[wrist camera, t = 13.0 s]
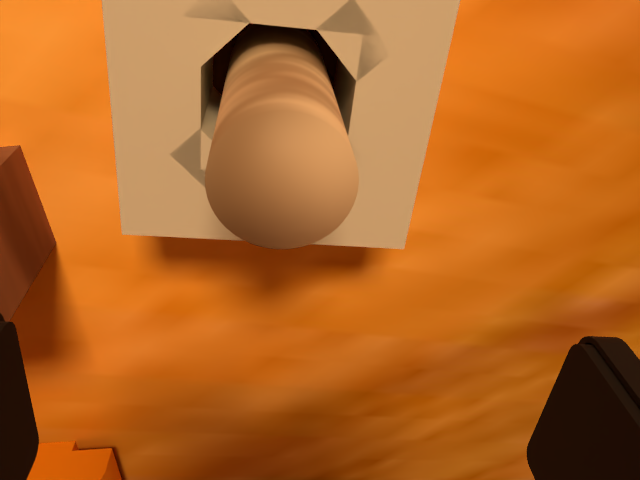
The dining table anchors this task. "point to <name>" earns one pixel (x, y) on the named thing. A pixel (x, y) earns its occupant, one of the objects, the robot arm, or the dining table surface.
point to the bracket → (73, 463)
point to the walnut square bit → (20, 230)
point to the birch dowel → (280, 143)
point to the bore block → (204, 100)
